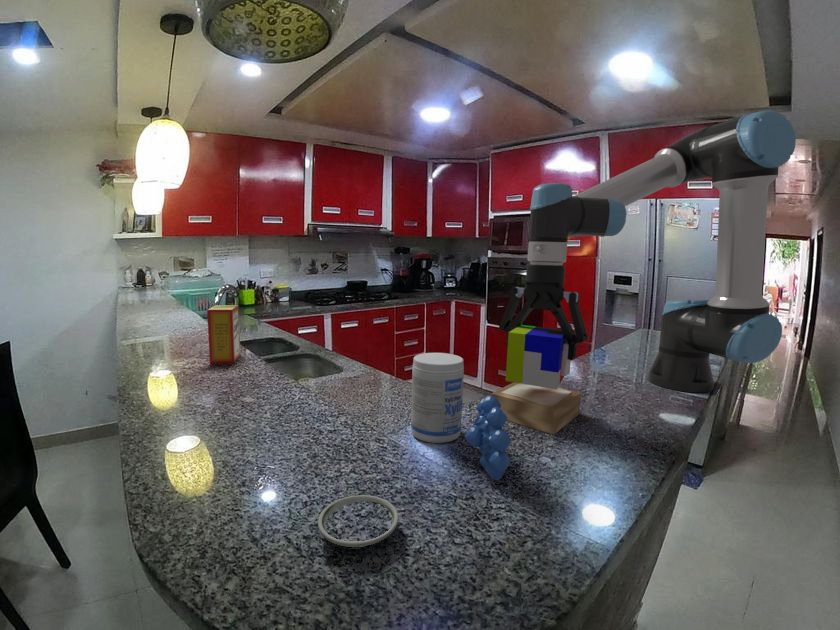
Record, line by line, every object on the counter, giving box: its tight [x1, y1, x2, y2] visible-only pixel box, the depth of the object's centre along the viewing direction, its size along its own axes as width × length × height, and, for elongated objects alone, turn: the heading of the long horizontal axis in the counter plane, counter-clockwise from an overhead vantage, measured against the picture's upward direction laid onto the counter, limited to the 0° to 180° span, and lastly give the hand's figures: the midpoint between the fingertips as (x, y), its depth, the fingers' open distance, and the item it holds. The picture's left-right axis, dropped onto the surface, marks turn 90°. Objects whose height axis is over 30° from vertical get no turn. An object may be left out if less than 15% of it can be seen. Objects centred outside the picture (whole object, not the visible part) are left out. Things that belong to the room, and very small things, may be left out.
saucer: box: [317, 494, 399, 547], centre depth 52 cm, size 10×10×2 cm
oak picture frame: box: [490, 382, 582, 435], centre depth 91 cm, size 14×14×5 cm
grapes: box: [464, 394, 512, 481], centre depth 67 cm, size 12×7×12 cm, turn 8°
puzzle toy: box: [505, 324, 568, 389], centre depth 88 cm, size 10×10×10 cm
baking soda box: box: [206, 304, 241, 365], centre depth 127 cm, size 10×6×16 cm
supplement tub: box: [410, 352, 465, 444], centre depth 80 cm, size 10×10×15 cm
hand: (538, 368), depth 90 cm, fingers closed on puzzle toy, 11 cm apart
